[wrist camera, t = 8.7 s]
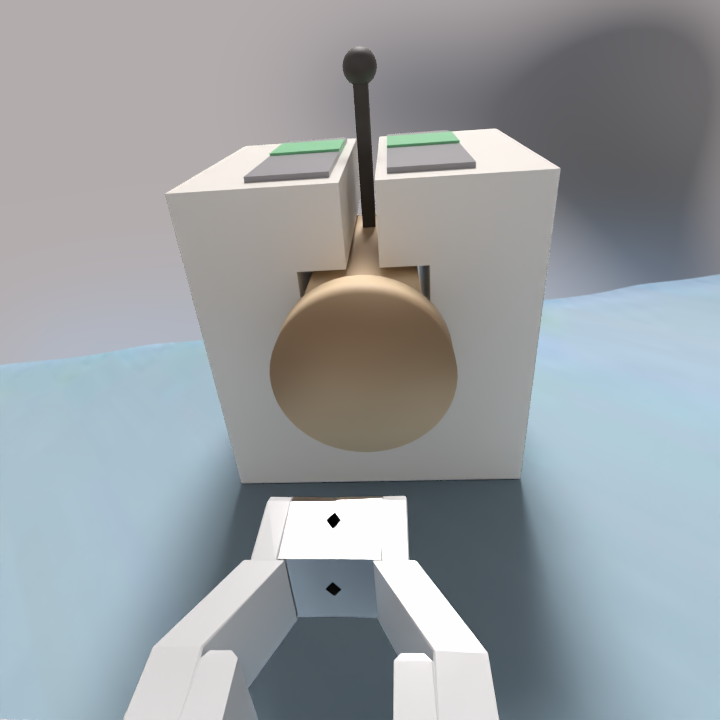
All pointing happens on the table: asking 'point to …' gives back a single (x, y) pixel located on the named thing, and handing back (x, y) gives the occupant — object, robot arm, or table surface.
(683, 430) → the table surface
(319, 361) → the peg
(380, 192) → the tuner housing
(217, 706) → the robot arm
